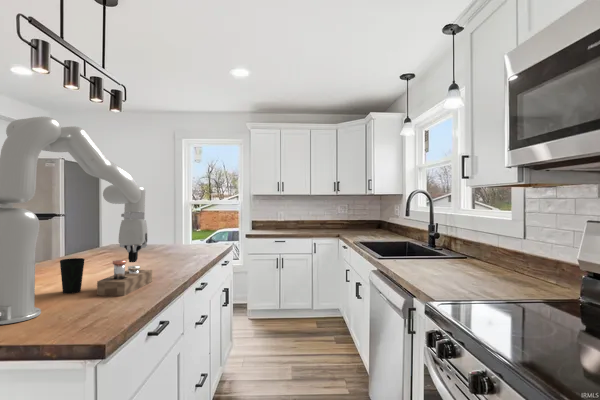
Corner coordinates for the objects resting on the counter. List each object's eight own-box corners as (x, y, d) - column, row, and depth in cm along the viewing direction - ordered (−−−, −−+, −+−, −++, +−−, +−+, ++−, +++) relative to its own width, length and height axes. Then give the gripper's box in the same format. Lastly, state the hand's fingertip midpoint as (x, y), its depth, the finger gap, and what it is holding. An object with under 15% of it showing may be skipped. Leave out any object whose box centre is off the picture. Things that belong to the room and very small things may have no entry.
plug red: (122, 280, 127) (122, 262, 127) (109, 280, 127) (110, 261, 127) (128, 278, 132) (128, 259, 132) (116, 278, 132) (116, 259, 132)
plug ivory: (136, 285, 138) (136, 267, 138) (125, 285, 138) (125, 267, 138) (142, 282, 143) (142, 265, 143) (131, 282, 143) (131, 265, 143)
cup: (71, 295, 124) (72, 261, 124) (54, 293, 125) (54, 260, 125) (88, 290, 131) (89, 258, 131) (72, 288, 133) (72, 257, 133)
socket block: (124, 295, 124) (124, 281, 124) (97, 295, 124) (97, 281, 124) (152, 281, 146) (152, 269, 146) (128, 281, 146) (128, 269, 146)
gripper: (111, 216, 137) (109, 262, 136) (148, 217, 137) (146, 263, 136) (121, 216, 145) (119, 260, 144) (156, 216, 144) (155, 260, 144)
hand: (132, 261), depth 140 cm, fingers closed
